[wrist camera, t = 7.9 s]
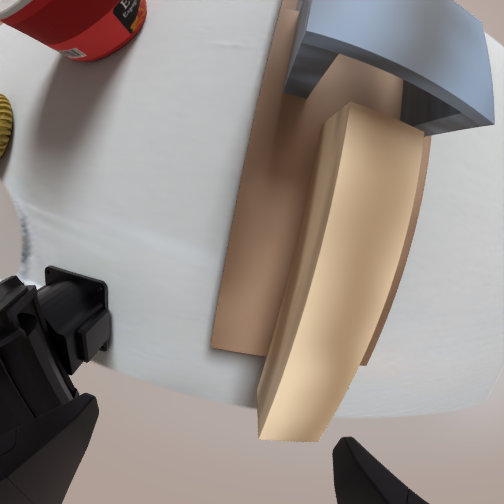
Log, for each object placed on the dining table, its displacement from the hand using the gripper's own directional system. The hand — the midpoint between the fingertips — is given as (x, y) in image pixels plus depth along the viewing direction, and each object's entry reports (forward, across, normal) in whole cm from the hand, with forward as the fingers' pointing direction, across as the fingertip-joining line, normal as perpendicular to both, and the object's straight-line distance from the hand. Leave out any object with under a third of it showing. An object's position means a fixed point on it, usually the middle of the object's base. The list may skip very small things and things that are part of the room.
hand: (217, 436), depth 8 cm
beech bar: (+10, -5, -3) cm, 12 cm away
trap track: (+12, -5, -12) cm, 18 cm away
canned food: (+12, +15, -20) cm, 28 cm away
